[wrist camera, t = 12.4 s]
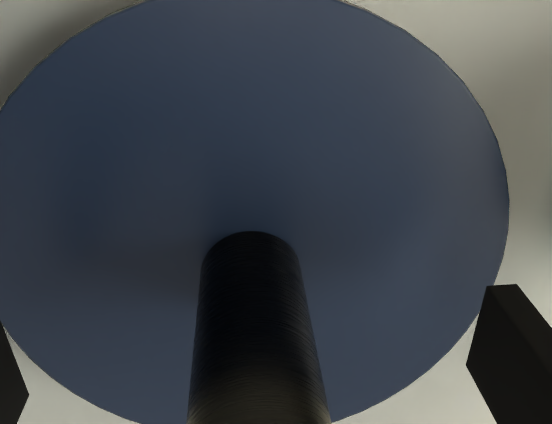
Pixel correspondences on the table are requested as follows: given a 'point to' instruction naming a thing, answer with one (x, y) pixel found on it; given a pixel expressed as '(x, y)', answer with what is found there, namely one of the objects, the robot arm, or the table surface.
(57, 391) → the table surface
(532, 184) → the table surface
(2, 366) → the robot arm
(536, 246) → the table surface
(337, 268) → the pot lid
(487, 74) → the table surface
